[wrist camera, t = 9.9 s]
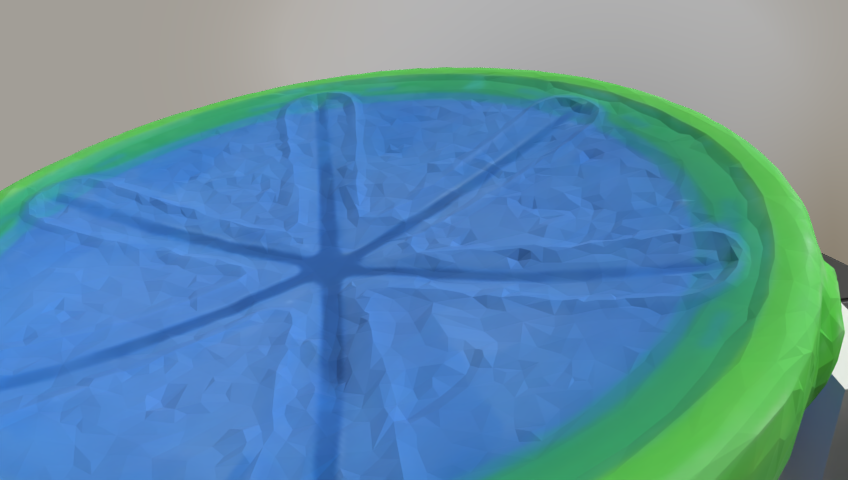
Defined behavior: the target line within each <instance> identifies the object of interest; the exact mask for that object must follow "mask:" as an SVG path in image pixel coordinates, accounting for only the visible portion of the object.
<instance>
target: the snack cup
mask: <svg viewBox="0 0 848 480" xmlns="http://www.w3.org/2000/svg"><path fill="white" fill-rule="evenodd" d="M844 334H845V329H844V323H843V316H842V305H841V299H840V292H839V285H838V281H837V276H836V272H835V269H834V268H833V267H831V266H830V265H829V264H828V263H826V262H825V261H824V260H823V257H822V254H821V252H820V249H819V246H818V243H817V241H816V237H815V234H814V231H813V227H812V224H811V221H810V217H809V214H808V212H807V210H806V208H805V206H804V204H803V202H802V201H801V199H800V198H799V196H798V195H797V194H796V192H795V191H794V190H793V188H792V187H791V186H790V184H789V183H788V181H787V180H786V179H785V177H784V176H783V175H782V173H781V172H780V171H779V169H777V167H775V166H774V165H773V164H772V163H771V162H770V161H769V160H768V159H767V158H766V157H765V156H764V155H763V154H762V153H761V152H760V151H758V150H757V149H756V148H755V147H753V146H752V145H751V144H750V143H748V142H747V141H746V140H744V139H743V138H741V137H740V136H738V135H737V134H735V133H734V132H732V131H731V130H729V129H728V128H726V127H724V126H723V125H721V124H719V123H716V122H714V121H713V120H711V119H710V118H708V117H706V116H705V115H703V114H701V113H699V112H696V111H694V110H692V109H689V108H686V107H684V106H681V105H678V104H675V103H673V102H670V101H668V100H666V99H663V98H661V97H658V96H655V95H651V94H648V93H645V92H642V91H639V90H636V89H631V88H626V87H623V86H620V85H616V84H612V83H608V82H603V81H598V80H594V79H590V78H584V77H577V76H570V75H564V74H556V73H548V72H541V71H532V70H515V69H514V70H513V69H498V68H448V67H446V68H430V69H421V68H420V69H419V68H418V69H406V70H392V71H379V72H372V73H365V74H357V75H348V76H341V77H335V78H329V79H322V80H316V81H310V82H304V83H298V84H293V85H288V86H283V87H278V88H274V89H270V90H266V91H261V92H257V93H252V94H247V95H244V96H240V97H236V98H232V99H228V100H225V101H221V102H218V103H214V104H210V105H207V106H204V107H201V108H197V109H194V110H190V111H187V112H182V113H179V114H175V115H172V116H169V117H166V118H163V119H160V120H157V121H154V122H151V123H149V124H146V125H143V126H141V127H138V128H135V129H132V130H130V131H127V132H125V133H122V134H120V135H118V136H115V137H112V138H109V139H107V140H104V141H102V142H100V143H97V144H95V145H92V146H90V147H88V148H85V149H83V150H81V151H79V152H77V153H75V154H73V155H71V156H69V157H67V158H64V159H62V160H59V161H57V162H55V163H53V164H51V165H48V166H46V167H44V168H42V169H40V170H38V171H36V172H34V173H32V174H31V175H29V176H27V177H25V178H23V179H21V180H19V181H17V182H15V183H14V184H12V185H10V186H8V187H7V188H5V189H3V190H1V191H0V480H778V479H779V477H780V475H781V473H782V471H783V469H784V468H785V466H786V464H787V462H788V460H789V459H790V456H791V453H792V450H793V446H794V443H795V440H796V437H797V433H798V430H799V427H800V424H801V420H802V417H803V414H804V411H805V410H806V408H807V407H808V406H809V405H810V404H811V403H812V402H813V400H814V399H815V398H816V397H817V395H818V394H819V393H820V392H821V390H822V389H823V388H824V387H825V386H826V384H827V382H828V380H829V378H830V376H831V374H832V372H833V370H834V368H835V366H836V363H837V361H838V358H839V354H840V350H841V346H842V342H843V338H844Z"/></svg>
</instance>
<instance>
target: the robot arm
mask: <svg viewBox="0 0 848 480" xmlns="http://www.w3.org/2000/svg"><path fill="white" fill-rule="evenodd" d="M821 254H822V257H823V260H824V261H825V262H826V263H828V264H829V265H830V266H831V267H833V268H834V269H835V272H836V276H837V281H838V285H839V292H840V299H841V305H842V316H843V323H844V329H845V334H844V338H843V342H842V346H841V350H840V354H839V358H838V361H837V363H836V366H835V368H834V370H833V372H832V374H831V376H830V378H829V380H828V382H827V384H826V386H825V387H824V388H823V389H822V390H821V392H820V393H819V394H818V395H817V397H816V398H815V399H814V400H813V402H812V403H811V404H810V405H809V406H808V407H807V408H806V410H805V411H804V414H803V417H802V420H801V424H800V427H799V430H798V433H797V437H796V440H795V443H794V446H793V450H792V453H791V456H790V459H789V460H788V462H787V464H786V466H785V468H784V469H783V471H782V473H781V475H780V477H779V479H778V480H848V265H845V264H844V263H842V262H839V261H837V260H835V259H833V258H831V257H829V256H827V255H825V254H823V253H821Z"/></svg>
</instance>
